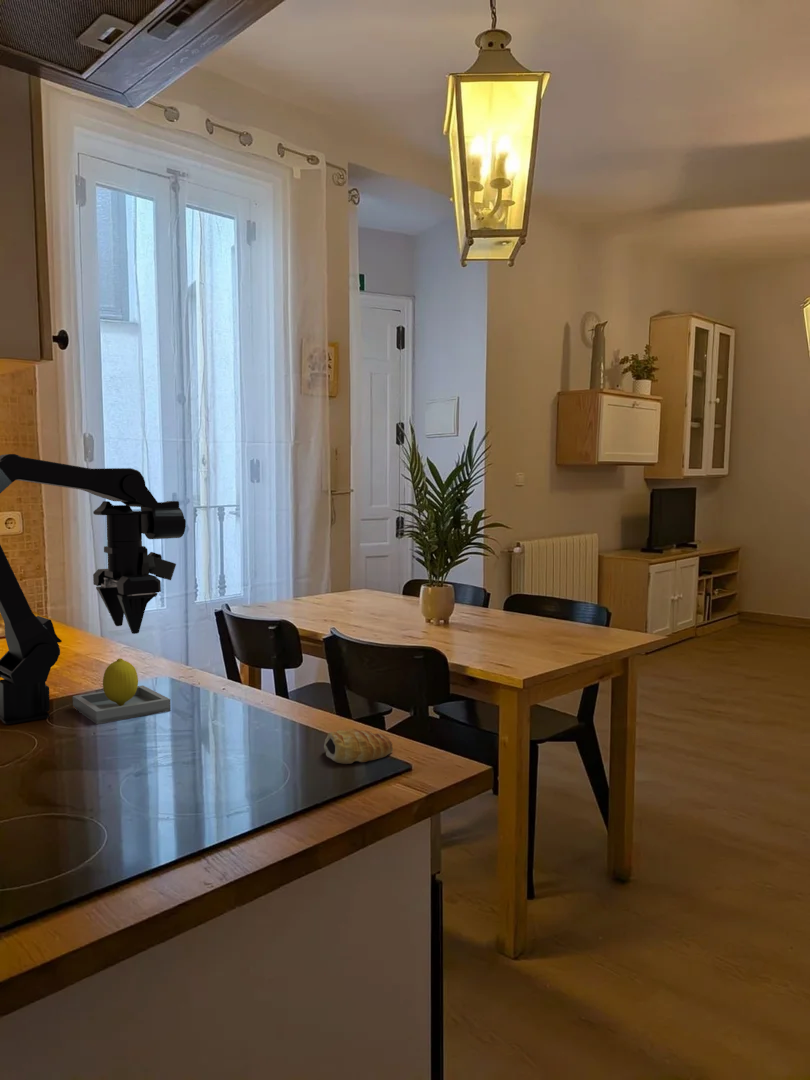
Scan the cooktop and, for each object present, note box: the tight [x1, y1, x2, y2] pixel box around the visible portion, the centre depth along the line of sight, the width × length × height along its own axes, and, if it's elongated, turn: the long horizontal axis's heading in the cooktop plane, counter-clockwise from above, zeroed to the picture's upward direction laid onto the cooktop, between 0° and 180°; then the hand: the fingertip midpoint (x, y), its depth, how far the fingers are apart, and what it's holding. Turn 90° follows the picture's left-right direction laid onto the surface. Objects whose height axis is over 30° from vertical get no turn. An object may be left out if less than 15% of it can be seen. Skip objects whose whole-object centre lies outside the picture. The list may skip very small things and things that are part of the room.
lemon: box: [102, 658, 139, 706], centre depth 130 cm, size 6×6×8 cm
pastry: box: [323, 728, 394, 765], centre depth 108 cm, size 9×7×4 cm
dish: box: [72, 685, 172, 725], centre depth 130 cm, size 12×12×2 cm
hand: (126, 629), depth 136 cm, fingers open, 9 cm apart
